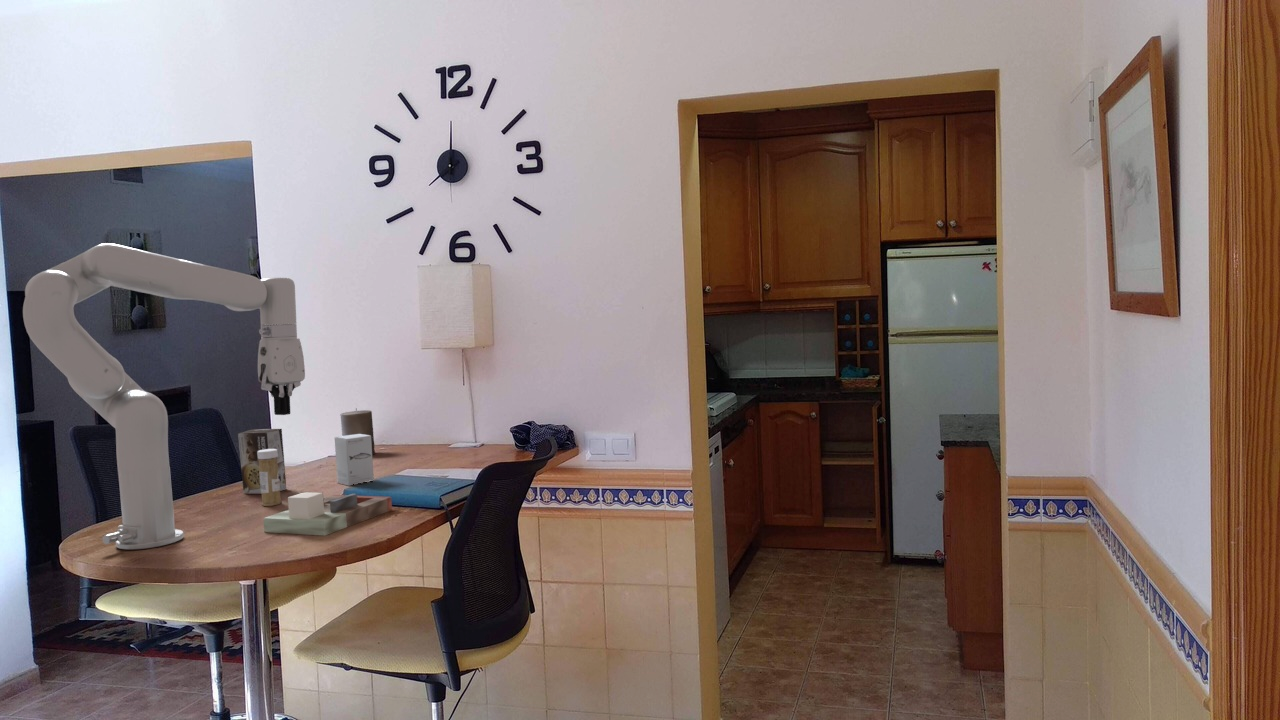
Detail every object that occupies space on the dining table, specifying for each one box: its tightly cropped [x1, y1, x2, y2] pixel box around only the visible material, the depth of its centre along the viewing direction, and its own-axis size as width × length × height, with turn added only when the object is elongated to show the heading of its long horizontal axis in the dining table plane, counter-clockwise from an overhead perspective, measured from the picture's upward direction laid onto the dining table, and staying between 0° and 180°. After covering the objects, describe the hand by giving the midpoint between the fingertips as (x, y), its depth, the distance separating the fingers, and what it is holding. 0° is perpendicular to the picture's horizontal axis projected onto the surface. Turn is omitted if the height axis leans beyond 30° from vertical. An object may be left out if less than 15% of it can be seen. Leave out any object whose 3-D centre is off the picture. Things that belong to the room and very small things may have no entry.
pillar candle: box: [339, 407, 376, 455], centre depth 299 cm, size 10×10×15 cm
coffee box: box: [237, 428, 287, 495], centre depth 246 cm, size 9×6×16 cm
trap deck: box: [262, 492, 393, 536], centre depth 209 cm, size 23×16×6 cm
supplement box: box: [334, 434, 375, 487], centre depth 253 cm, size 7×7×13 cm
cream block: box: [287, 491, 324, 519], centre depth 201 cm, size 5×5×4 cm
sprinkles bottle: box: [257, 449, 282, 507], centre depth 229 cm, size 5×5×13 cm
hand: (282, 414), depth 213 cm, fingers closed
